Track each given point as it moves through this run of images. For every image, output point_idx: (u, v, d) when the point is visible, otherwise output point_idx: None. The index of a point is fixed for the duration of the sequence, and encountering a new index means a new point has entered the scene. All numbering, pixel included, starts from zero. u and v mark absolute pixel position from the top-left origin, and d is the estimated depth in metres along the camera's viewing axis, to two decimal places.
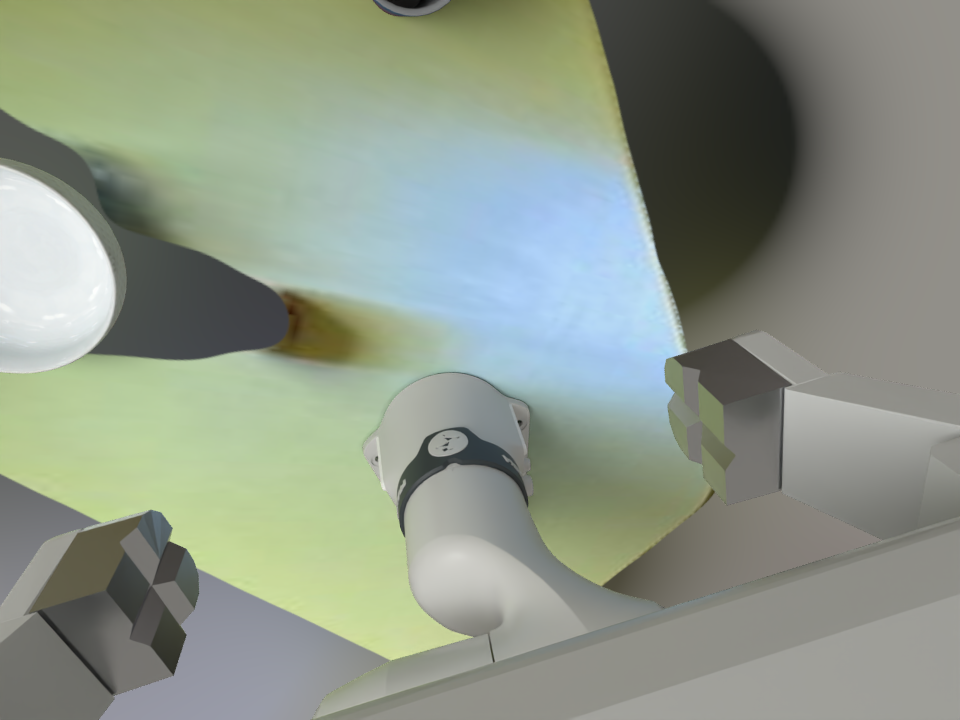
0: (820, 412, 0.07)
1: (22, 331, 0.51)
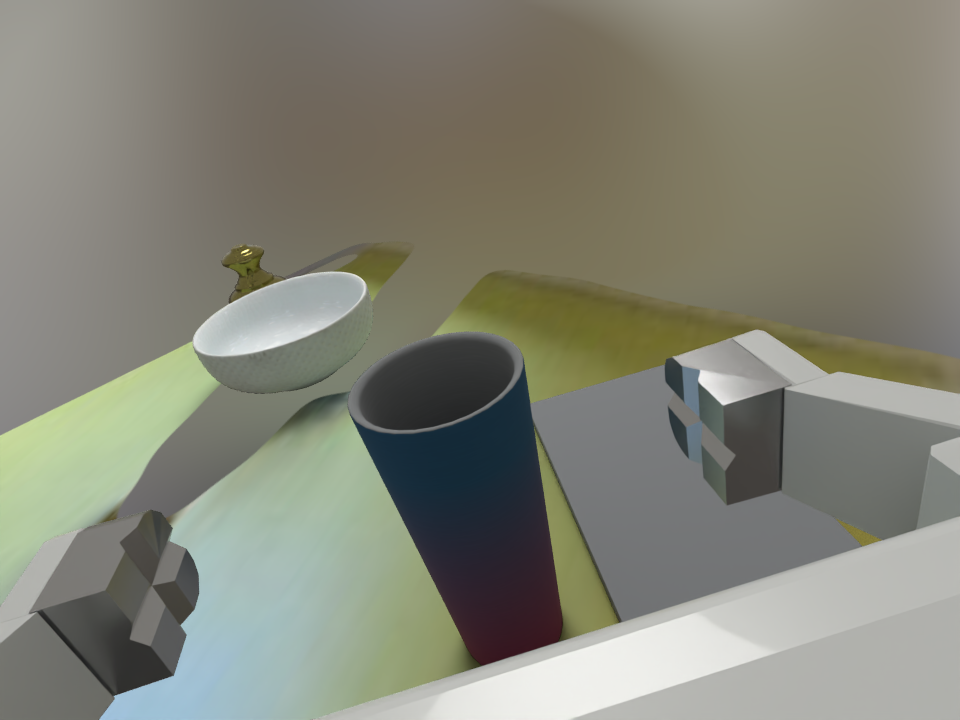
0: (821, 413, 0.07)
1: (245, 349, 0.61)
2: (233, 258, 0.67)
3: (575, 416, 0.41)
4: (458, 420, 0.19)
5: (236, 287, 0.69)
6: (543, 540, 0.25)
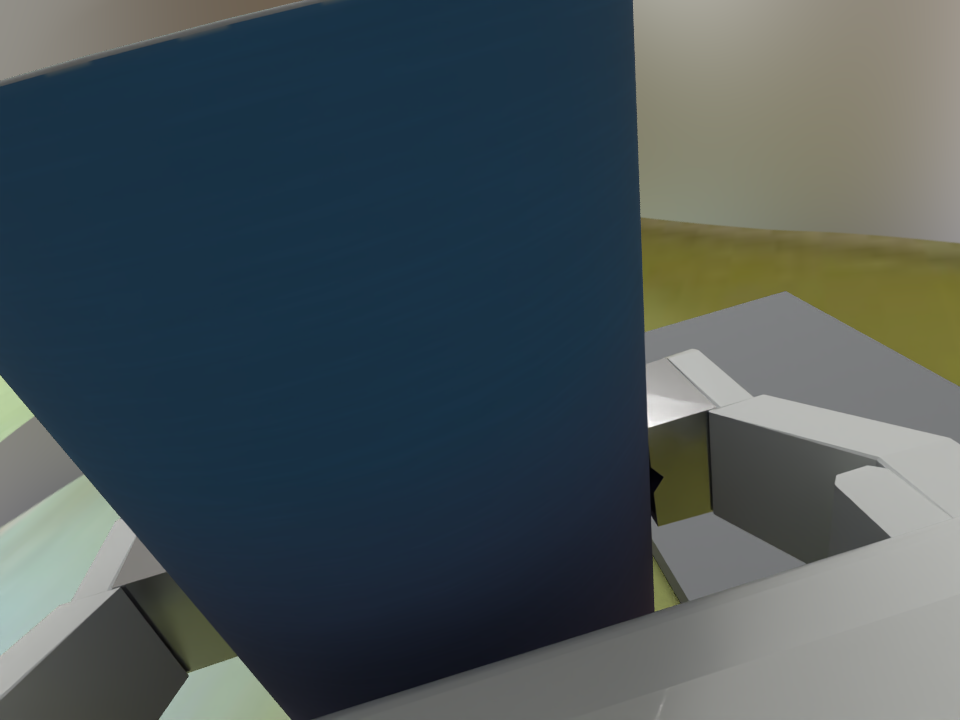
0: (742, 437, 0.07)
1: None
2: None
3: None
4: (273, 11, 0.03)
5: None
6: None
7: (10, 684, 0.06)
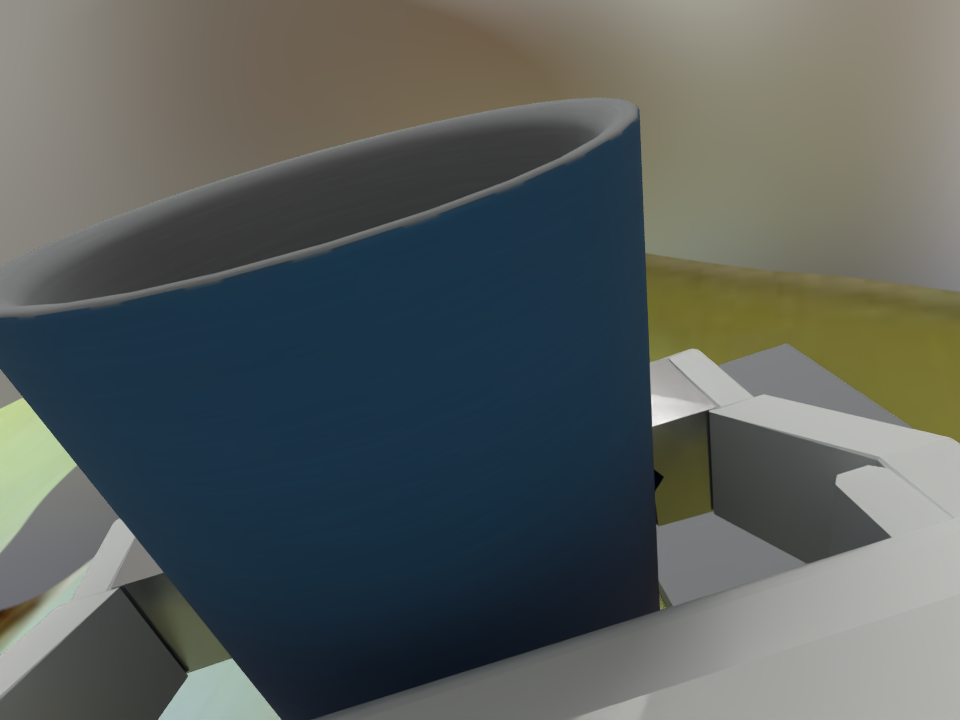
0: (743, 436, 0.07)
1: None
2: None
3: None
4: (363, 232, 0.04)
5: None
6: None
7: (11, 684, 0.06)
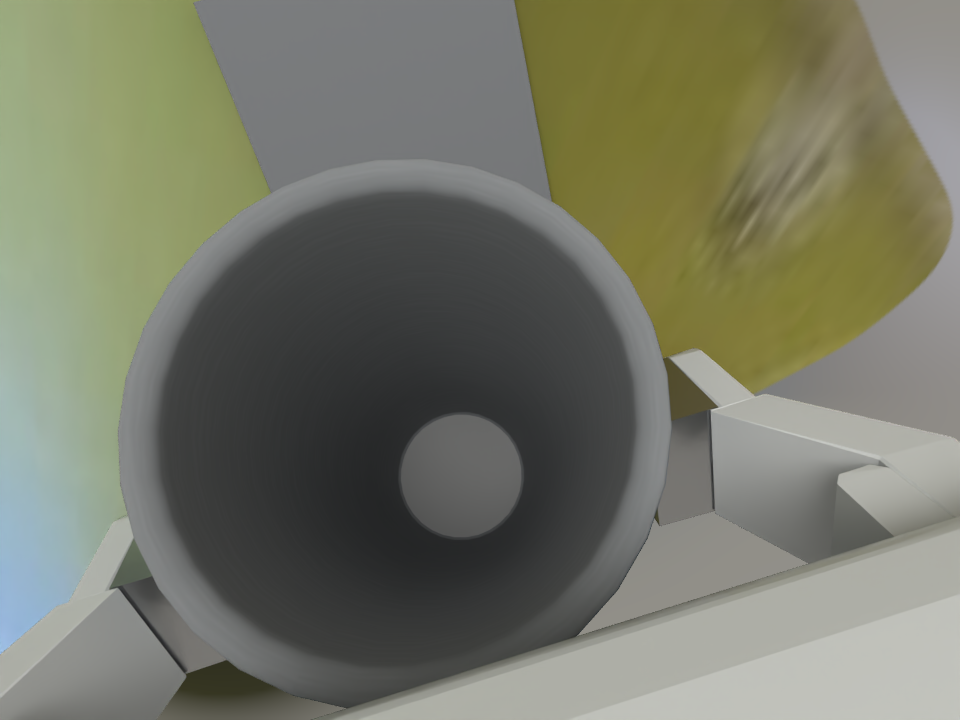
0: (744, 436, 0.07)
1: None
2: None
3: (296, 69, 0.24)
4: None
5: None
6: None
7: (7, 685, 0.06)
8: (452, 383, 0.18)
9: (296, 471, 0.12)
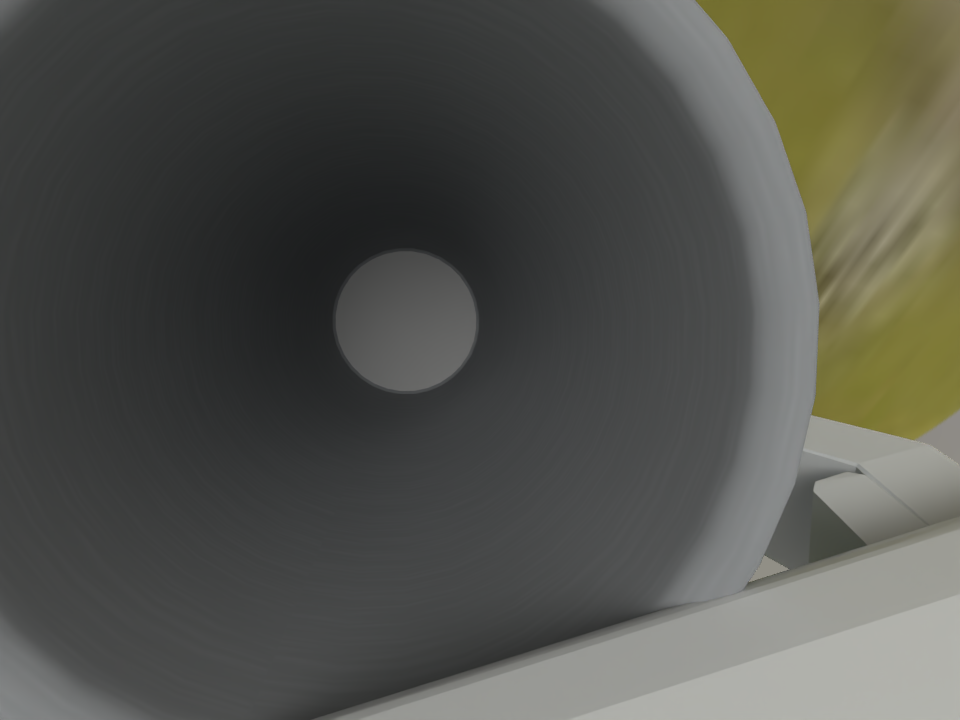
0: None
1: None
2: None
3: None
4: None
5: None
6: None
7: None
8: (398, 220, 0.14)
9: (197, 369, 0.08)
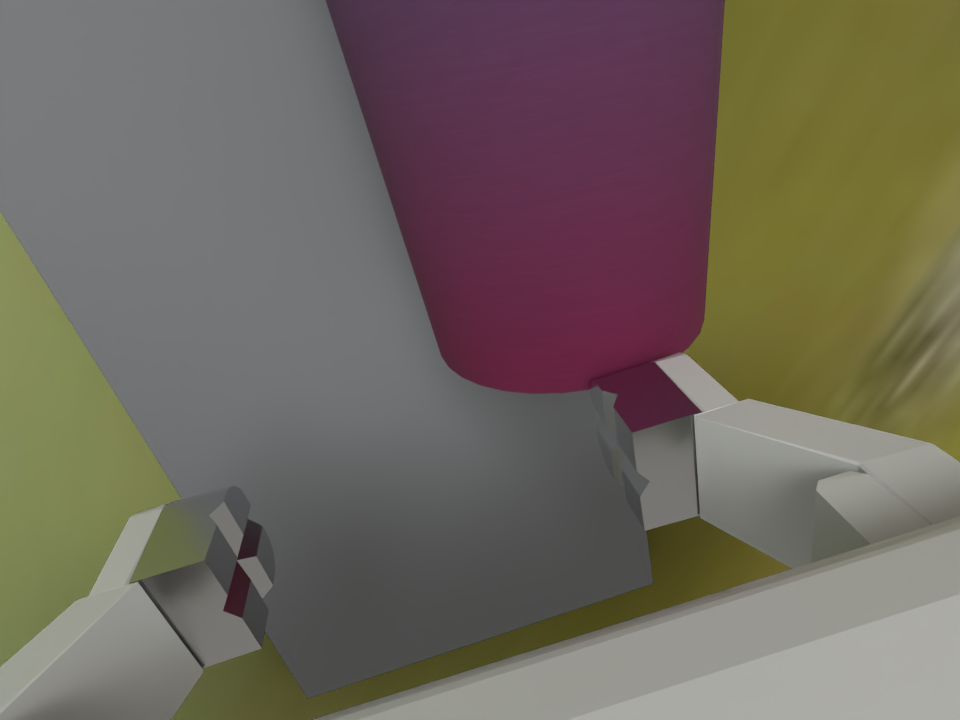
0: (727, 441, 0.07)
1: None
2: None
3: (130, 139, 0.11)
4: None
5: None
6: None
7: (31, 678, 0.06)
8: None
9: None
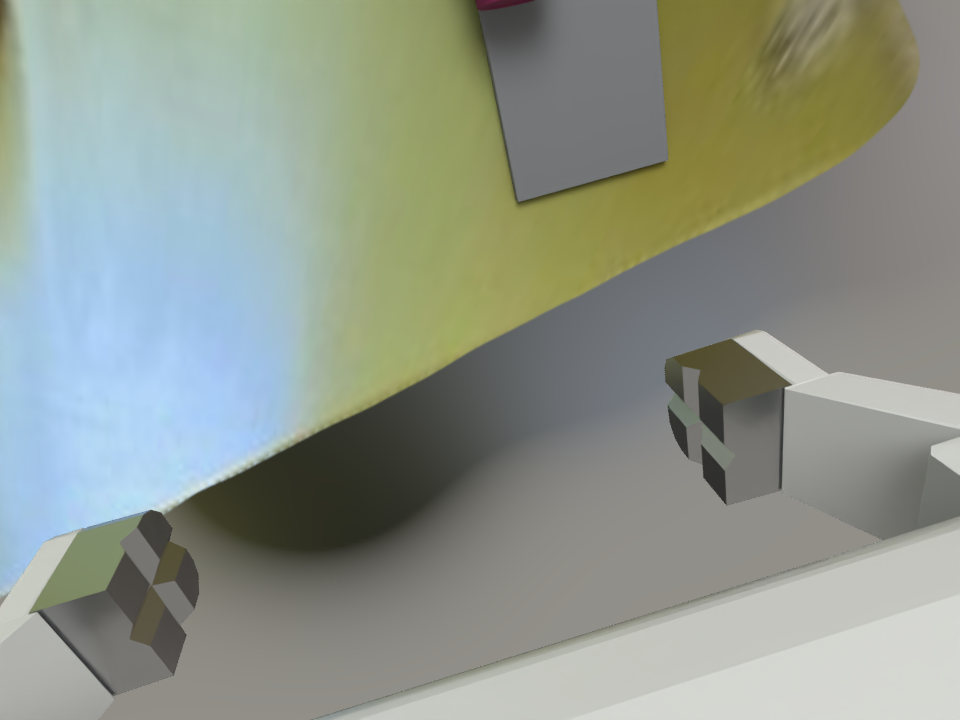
0: (820, 412, 0.07)
1: None
2: None
3: None
4: None
5: None
6: None
7: None
8: None
9: None
